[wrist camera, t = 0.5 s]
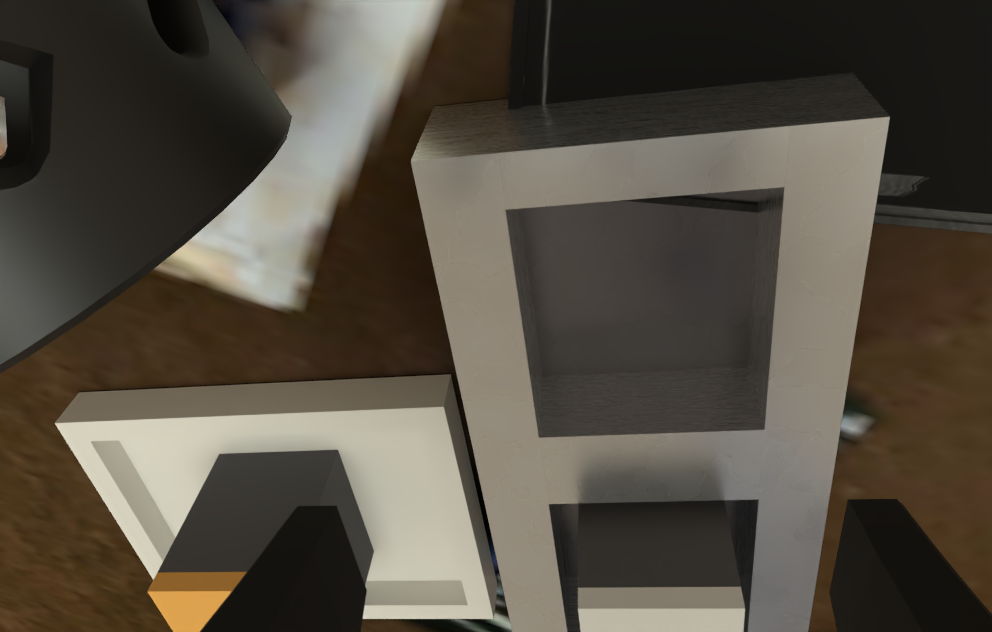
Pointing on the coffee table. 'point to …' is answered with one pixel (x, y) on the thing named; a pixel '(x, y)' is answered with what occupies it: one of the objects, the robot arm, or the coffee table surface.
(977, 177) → the phone
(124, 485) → the tray
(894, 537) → the robot arm
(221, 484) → the plug
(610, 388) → the block
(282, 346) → the coffee table surface
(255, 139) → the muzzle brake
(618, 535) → the twin plug
